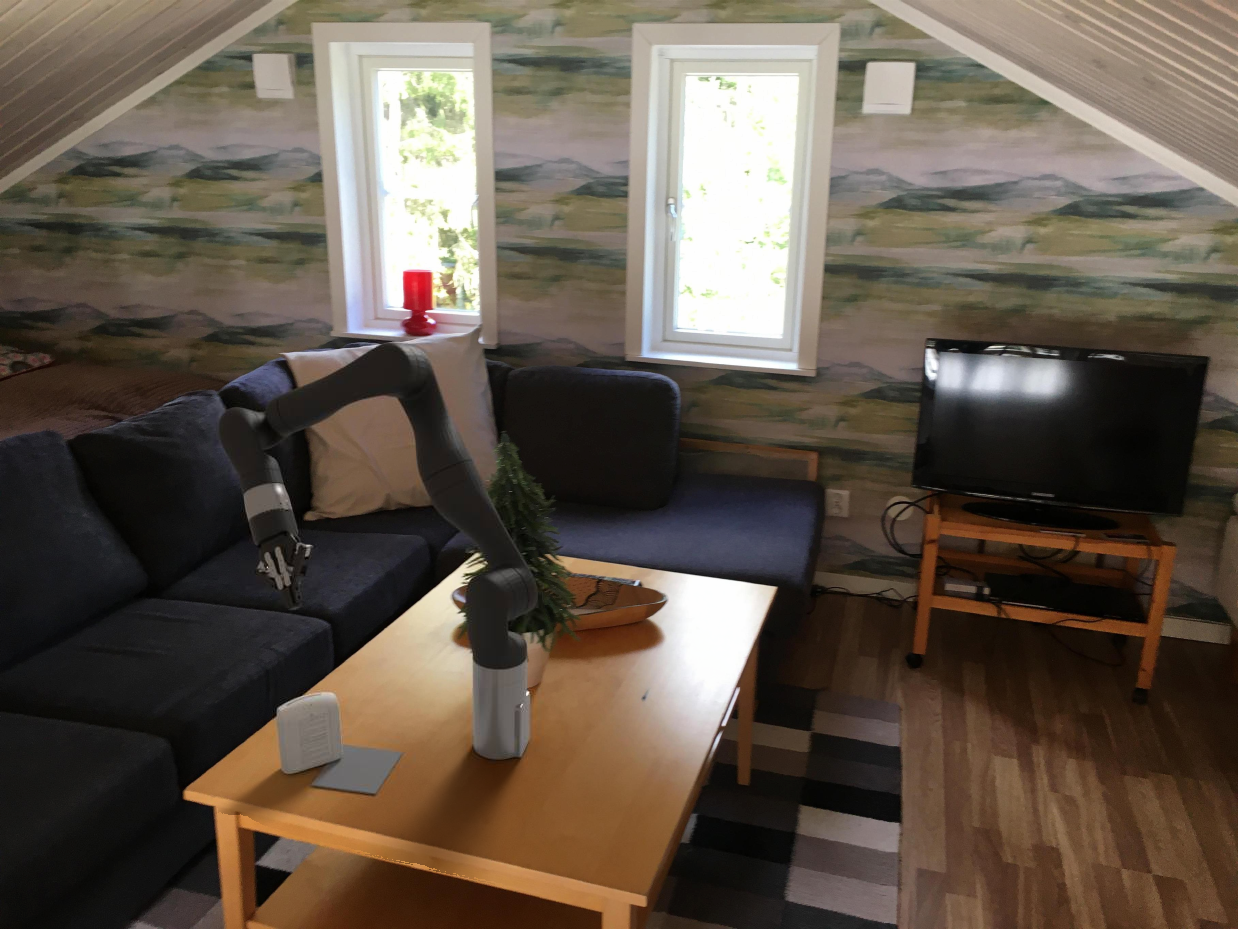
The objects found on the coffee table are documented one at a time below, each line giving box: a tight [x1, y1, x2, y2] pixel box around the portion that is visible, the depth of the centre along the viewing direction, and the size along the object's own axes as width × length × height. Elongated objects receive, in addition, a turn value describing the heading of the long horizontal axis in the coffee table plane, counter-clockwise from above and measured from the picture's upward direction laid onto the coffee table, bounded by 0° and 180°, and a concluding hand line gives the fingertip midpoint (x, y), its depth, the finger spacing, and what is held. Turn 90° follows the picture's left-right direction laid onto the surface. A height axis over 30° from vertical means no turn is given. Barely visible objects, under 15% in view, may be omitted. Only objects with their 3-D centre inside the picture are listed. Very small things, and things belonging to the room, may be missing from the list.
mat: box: [310, 743, 404, 796], centre depth 171 cm, size 11×12×1 cm
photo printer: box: [276, 691, 343, 775], centre depth 170 cm, size 10×4×12 cm, turn 123°
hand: (295, 608), depth 175 cm, fingers closed
